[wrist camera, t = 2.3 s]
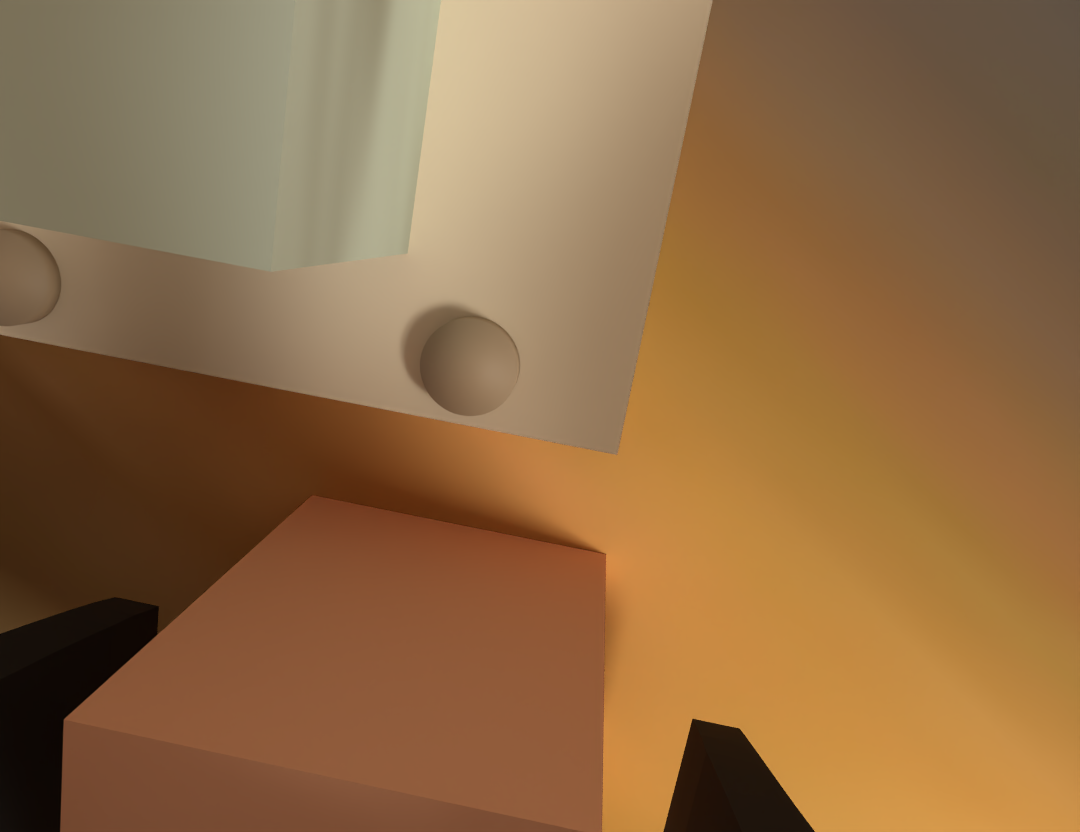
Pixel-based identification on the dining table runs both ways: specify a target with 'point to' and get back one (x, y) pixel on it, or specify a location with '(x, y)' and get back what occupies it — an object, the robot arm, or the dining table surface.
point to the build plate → (483, 249)
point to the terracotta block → (359, 690)
